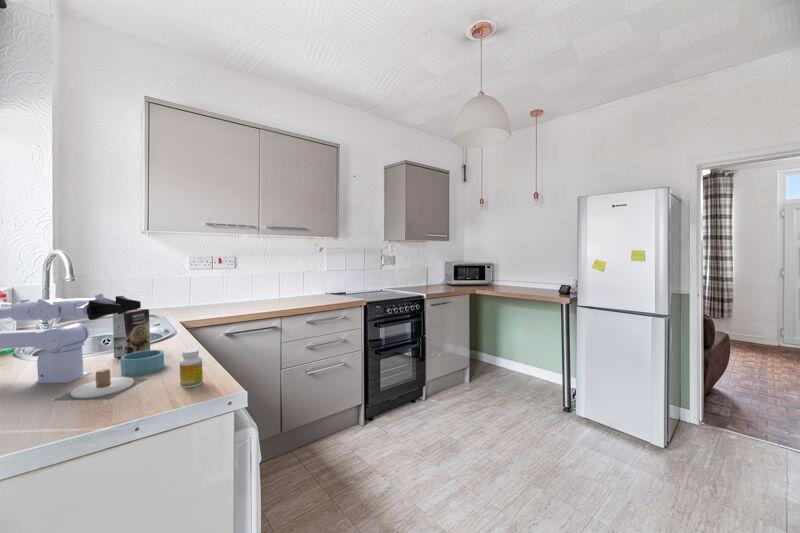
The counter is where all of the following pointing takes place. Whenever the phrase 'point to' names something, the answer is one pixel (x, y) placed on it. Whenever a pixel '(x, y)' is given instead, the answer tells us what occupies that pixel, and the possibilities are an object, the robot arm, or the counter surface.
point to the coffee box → (131, 332)
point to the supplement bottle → (191, 369)
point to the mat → (68, 396)
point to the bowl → (142, 362)
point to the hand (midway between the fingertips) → (130, 306)
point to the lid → (102, 386)
